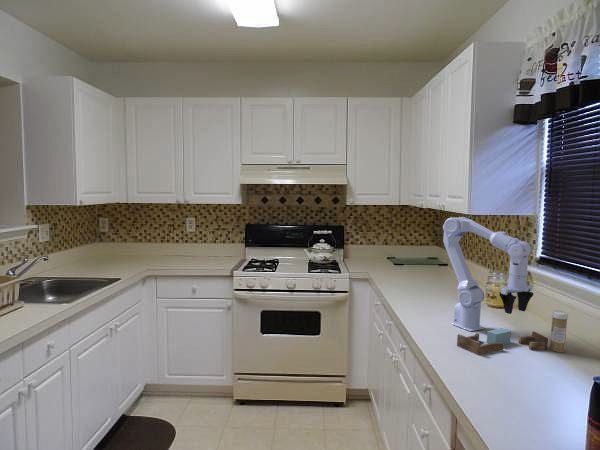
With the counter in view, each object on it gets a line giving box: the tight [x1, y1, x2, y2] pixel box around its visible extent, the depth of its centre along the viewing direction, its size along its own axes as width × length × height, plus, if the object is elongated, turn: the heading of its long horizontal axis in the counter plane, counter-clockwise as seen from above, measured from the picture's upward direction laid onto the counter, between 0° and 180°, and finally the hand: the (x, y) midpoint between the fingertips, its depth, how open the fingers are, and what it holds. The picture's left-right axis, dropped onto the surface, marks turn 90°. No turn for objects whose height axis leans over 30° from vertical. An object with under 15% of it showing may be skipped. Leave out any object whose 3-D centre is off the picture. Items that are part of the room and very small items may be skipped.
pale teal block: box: [486, 327, 512, 345], centre depth 148 cm, size 4×8×4 cm, turn 118°
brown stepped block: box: [518, 331, 549, 351], centre depth 146 cm, size 6×6×4 cm
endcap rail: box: [456, 332, 504, 356], centre depth 143 cm, size 11×11×4 cm
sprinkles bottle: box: [549, 310, 569, 353], centre depth 142 cm, size 5×5×14 cm
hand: (515, 311), depth 151 cm, fingers open, 7 cm apart
